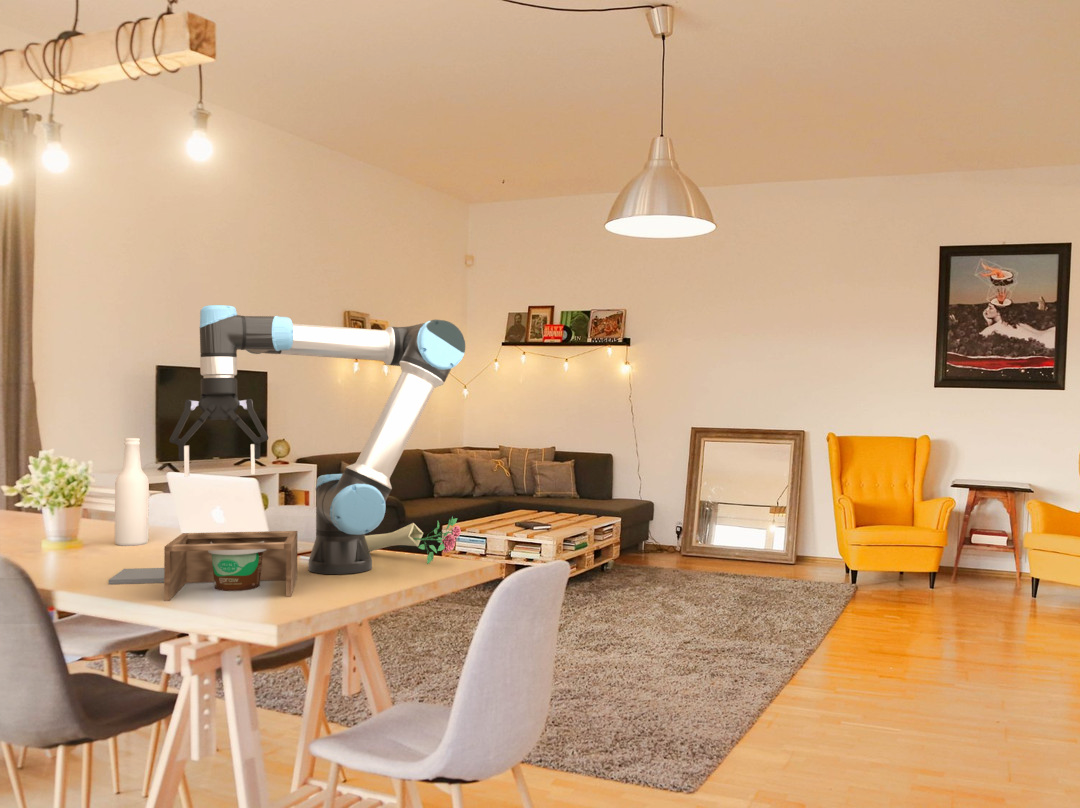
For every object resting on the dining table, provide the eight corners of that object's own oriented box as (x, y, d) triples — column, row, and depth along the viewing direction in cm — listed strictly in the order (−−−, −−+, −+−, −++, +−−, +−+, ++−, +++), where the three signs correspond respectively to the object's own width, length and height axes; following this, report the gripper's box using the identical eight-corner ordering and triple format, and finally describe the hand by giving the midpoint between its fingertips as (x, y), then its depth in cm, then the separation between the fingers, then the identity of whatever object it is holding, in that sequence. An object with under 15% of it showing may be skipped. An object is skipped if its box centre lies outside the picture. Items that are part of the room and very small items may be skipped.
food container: (201, 592, 199) (202, 545, 199) (208, 587, 205) (208, 541, 205) (261, 591, 200) (261, 544, 200) (266, 585, 207) (266, 540, 207)
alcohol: (123, 541, 271) (123, 437, 271) (153, 541, 271) (154, 437, 271) (109, 546, 262) (109, 438, 262) (140, 546, 262) (141, 438, 262)
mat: (186, 571, 224) (186, 567, 224) (175, 582, 210) (175, 577, 210) (124, 573, 221) (124, 568, 221) (108, 584, 207) (108, 579, 207)
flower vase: (375, 580, 253) (479, 563, 236) (343, 573, 244) (449, 555, 226) (377, 537, 258) (479, 517, 240) (346, 528, 248) (450, 507, 230)
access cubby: (297, 578, 215) (297, 530, 215) (291, 596, 195) (291, 543, 195) (182, 582, 210) (182, 533, 210) (164, 600, 191) (164, 546, 190)
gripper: (278, 377, 210) (280, 471, 210) (159, 377, 203) (160, 475, 204) (278, 376, 203) (279, 474, 203) (154, 377, 196) (156, 478, 196)
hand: (220, 475), depth 203 cm, fingers open, 13 cm apart
